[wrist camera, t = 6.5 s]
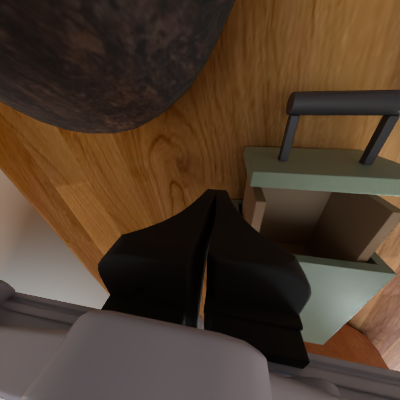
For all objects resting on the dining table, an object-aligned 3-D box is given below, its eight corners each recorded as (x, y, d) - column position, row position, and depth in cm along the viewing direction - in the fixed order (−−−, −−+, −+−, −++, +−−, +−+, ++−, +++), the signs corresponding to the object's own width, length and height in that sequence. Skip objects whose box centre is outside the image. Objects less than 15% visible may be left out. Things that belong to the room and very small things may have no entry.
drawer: (251, 95, 15) (266, 88, 9) (389, 93, 13) (541, 83, 7) (232, 235, 25) (232, 283, 18) (312, 244, 23) (345, 301, 16)
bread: (248, 331, 42) (256, 448, 28) (326, 306, 31) (406, 477, 17) (294, 356, 45) (323, 473, 31) (380, 341, 34) (488, 512, 20)
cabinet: (232, 199, 22) (232, 253, 14) (331, 207, 20) (397, 274, 12) (224, 265, 30) (222, 325, 22) (296, 275, 28) (322, 345, 20)
